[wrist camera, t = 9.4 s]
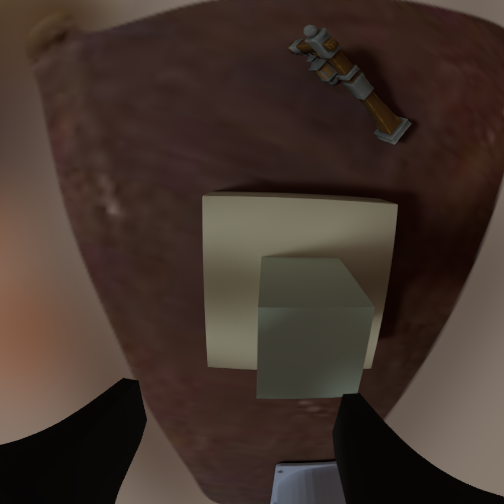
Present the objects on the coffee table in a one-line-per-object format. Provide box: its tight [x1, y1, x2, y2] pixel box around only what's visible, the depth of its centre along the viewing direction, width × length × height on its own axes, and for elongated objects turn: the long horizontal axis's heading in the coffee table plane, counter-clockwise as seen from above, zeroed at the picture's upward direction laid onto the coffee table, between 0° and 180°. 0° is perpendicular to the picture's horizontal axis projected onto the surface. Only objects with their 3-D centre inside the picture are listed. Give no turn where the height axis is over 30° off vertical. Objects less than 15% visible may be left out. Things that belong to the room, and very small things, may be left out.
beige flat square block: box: [203, 191, 398, 370], centre depth 18 cm, size 10×10×3 cm
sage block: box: [257, 257, 375, 399], centre depth 14 cm, size 4×4×6 cm
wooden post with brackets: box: [287, 25, 411, 144], centre depth 15 cm, size 2×8×4 cm, turn 51°
